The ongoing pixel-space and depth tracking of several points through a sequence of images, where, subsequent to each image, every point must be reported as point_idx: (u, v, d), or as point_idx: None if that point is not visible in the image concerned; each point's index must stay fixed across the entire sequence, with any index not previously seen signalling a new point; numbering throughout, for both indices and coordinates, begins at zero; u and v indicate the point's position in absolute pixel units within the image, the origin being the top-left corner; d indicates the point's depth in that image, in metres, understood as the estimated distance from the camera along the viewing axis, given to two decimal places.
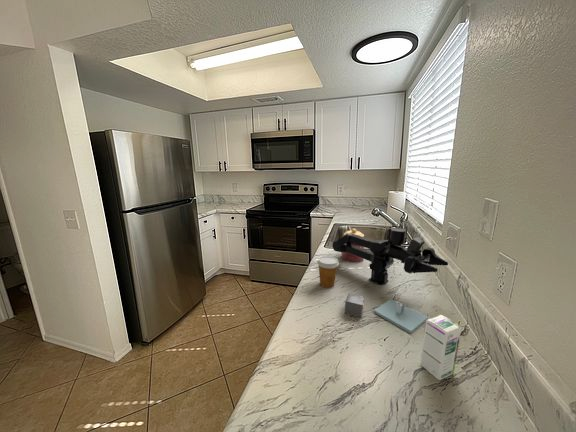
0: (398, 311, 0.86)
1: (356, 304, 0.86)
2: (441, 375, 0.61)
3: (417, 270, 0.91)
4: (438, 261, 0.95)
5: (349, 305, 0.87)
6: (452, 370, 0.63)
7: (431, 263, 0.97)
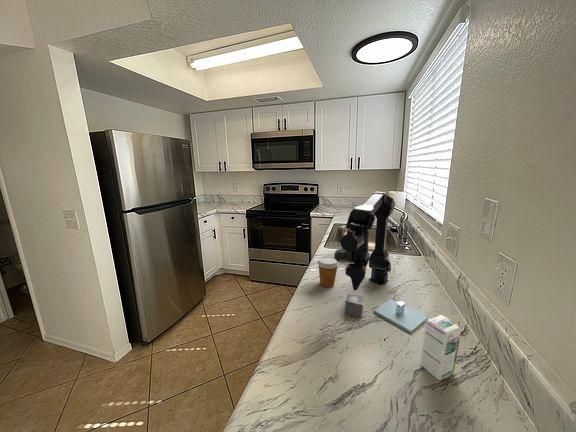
0: (398, 311, 0.86)
1: (356, 304, 0.86)
2: (441, 375, 0.61)
3: None
4: None
5: (349, 305, 0.87)
6: (452, 370, 0.63)
7: None
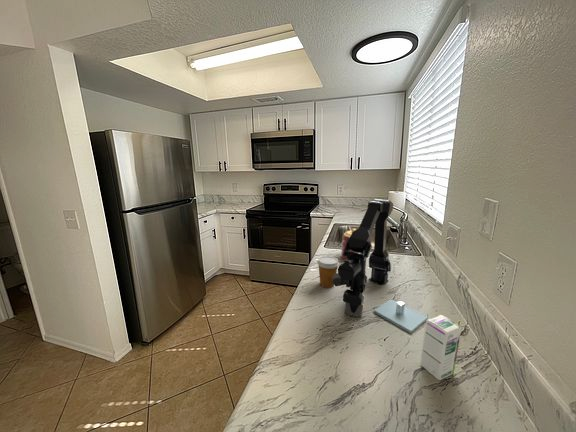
0: (398, 311, 0.86)
1: None
2: (441, 375, 0.61)
3: None
4: None
5: (349, 305, 0.87)
6: (452, 370, 0.63)
7: None
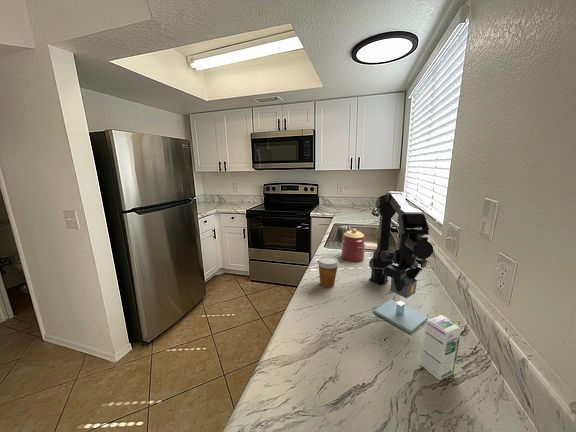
0: (398, 311, 0.86)
1: None
2: (441, 375, 0.61)
3: None
4: None
5: None
6: (452, 370, 0.63)
7: None
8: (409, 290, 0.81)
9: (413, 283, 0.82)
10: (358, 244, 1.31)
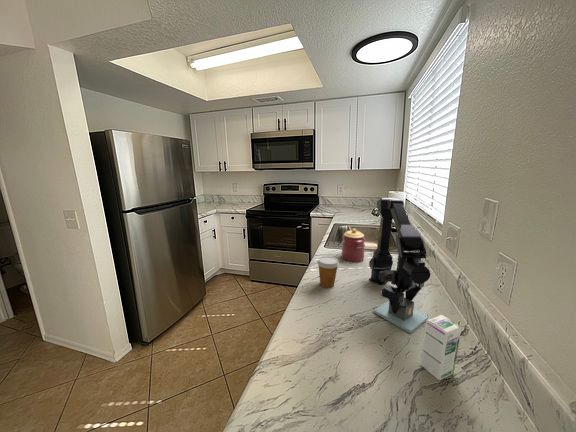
0: None
1: (400, 306, 0.84)
2: (441, 375, 0.61)
3: None
4: None
5: None
6: (452, 370, 0.63)
7: None
8: (407, 313, 0.83)
9: (411, 305, 0.84)
10: (358, 244, 1.31)
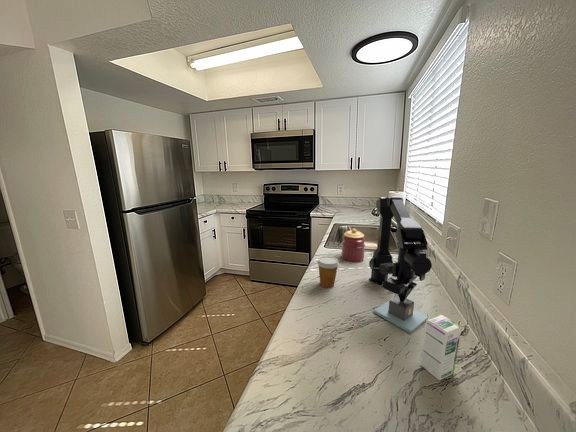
0: None
1: (400, 306, 0.84)
2: (441, 375, 0.61)
3: None
4: None
5: (393, 305, 0.86)
6: (452, 370, 0.63)
7: None
8: (407, 313, 0.83)
9: (411, 305, 0.84)
10: (358, 244, 1.31)
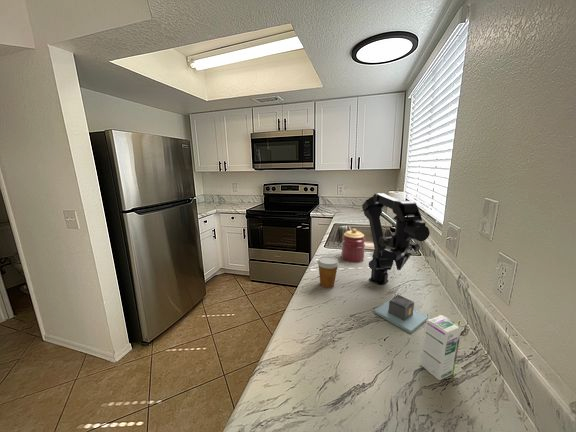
0: None
1: (400, 306, 0.84)
2: (441, 375, 0.61)
3: None
4: None
5: (393, 305, 0.86)
6: (452, 370, 0.63)
7: None
8: (407, 313, 0.83)
9: (411, 305, 0.84)
10: (358, 244, 1.31)
